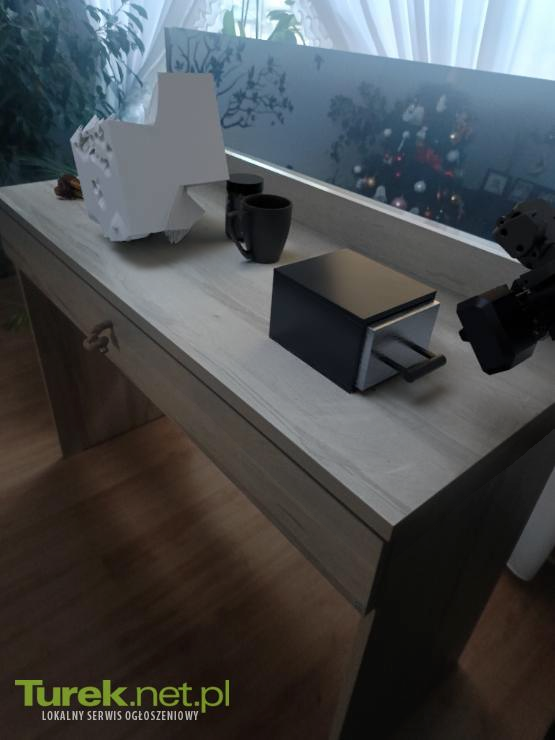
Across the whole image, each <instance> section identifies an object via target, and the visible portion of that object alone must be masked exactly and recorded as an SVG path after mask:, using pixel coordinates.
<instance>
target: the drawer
mask: <svg viewBox="0 0 555 740" xmlns="http://www.w3.org/2000/svg"><path fill="white" fill-rule="evenodd" d="M440 307H441V302H439V301H438V300H436V299H435V300H434V299H431V300H429V301H426V302H424V303H421V304H419V305H417V304H416V305H413V306H411V307H408V308H406V309H403V310H401V311H398V312H396V313H394V314H391V315H389V316H386V317H384V318H381V319H379V320H376V321H374V322H371V323H369V324H367V326H366V331H365V336H364V341H363V346H362V351H361V356H360V361H359V366H358V371H357V376H356V381H355V386H356V387H357V388H359V389H358V390H360V391H365V390H367V389H369V388H370V387H372V386H375V385H377V384H379V383H380V382H383V381H384V380H387V379H388V378H390V377H393V376H395V375H396V374H400V375H402V377H403V379H404V381H405V382H406V383H408V384H412V383H414V382H416V381H417V380H420V379H421V378H423V377H425V376H427V375H429V374H431V373H433V372H434V371H437V370H438V369H440V368H442V367H444V366H445V365H446V364H447V363H448V359H447V357H446V356H445V355H444V354H443V353H437V354H435V353H433V352H431V351H429V350H428V349H429V346H430V342H431V338H432V335H433V331H434V329H435V325H436V321H437V318H438V313H439V310H440ZM425 359H426V360H425ZM416 364H417V365H416ZM414 365H415V366H414Z"/></svg>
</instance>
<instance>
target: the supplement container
mask: <svg viewBox="0 0 555 740" xmlns="http://www.w3.org/2000/svg"><path fill="white" fill-rule="evenodd" d="M224 181H225V182H224V187H225V191H224V193H225V194H224V195H225V199H224V201H225V202H224V206H225V207H224V218H225V217H226V214H227V213H229V212H232V211H241V208H242V199H243V198H244V197H246V196H248V195H254V194H264V189H265V188H264V187H265V185H264V184H265V179H264V177H262V176H260V175H257V174H253V173H246V172H245V173H244V172H238V173H237V172H236V173H229V180H224ZM232 227H233V230H234V233H235V235H236V237H237V239H238V241H239V242H240V243H245V242H244V237H243V231H242V222H241V214H240V215H235V216H234V217H233V219H232ZM224 233H225V236H226V237H227V238H228V239H230V240H231V241H233V239H232V238H231V236H230V234H229V232H228V230H227V227H226V224H225V223H224Z"/></svg>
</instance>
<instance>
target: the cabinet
mask: <svg viewBox="0 0 555 740" xmlns="http://www.w3.org/2000/svg"><path fill="white" fill-rule="evenodd" d="M272 274H273V275H272V284H271V285H272V288H271V302H270V312H269V313H270V315H269V328H268V329H269V330H268V337H269V338H270V339H271V340H272V341H274V342H275V343H277V344H278V345H280V346H281V347H283V349H285V350H286V351H288V352H290V353H291V354H292V355H294V356H295V357H297V358H298V359H299V360H301V361H302V362H303V363H305V364H307V365H308V366H310V367H311V368H312V369H314V371H316V372H318V373H319V374H321V375H322V376H323V377H325V378H327V379H328V380H329V381H331V382H332V383H334V385H337V386H338V387H340V388H341V389H342V390H344V391H345V392H346V393H348V394H352V393H354V392H356V391H357V390H360V389H359V388H357V387H356V386H355V381H356V376H357V371H358V366H359V361H360V356H361V351H362V346H363V341H364V336H365V331H366V326H367V324H369V323H371V322H374V321H376V320H379V319H381V318H384V317H386V316H389V315H391V314H394V313H396V312H398V311H401V310H403V309H406V308H408V307H411V306H413V305H416V304H417V305H419V304H421V303H424V302H426V301H429V300H431V299H434V300H436V296H437V293H438V290H437V289H435V288H433V287H431V286H428V285H426V284H424V283H422V282H420V281H418V280H415V279H413V278H411V277H410V276H407V275H405V274H403V273H400V272H398V271H397V270H394V269H392V268H390V267H388V266H386V265H383V264H381V263H379V262H377V261H375V260H373V259H371V258H369V257H367V256H364V255H363V254H360V253H358V252H356V251H353V250H352V249H349V248H343V249H339V250H335V251H332V252H327V253H324V254H321V255H317V256H313V257H309V258H306V259H302V260H299V261H296V262H295V261H294V262H291V263H288V264H284V265H281V266H277V267H273V271H272Z"/></svg>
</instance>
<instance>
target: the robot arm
mask: <svg viewBox="0 0 555 740" xmlns="http://www.w3.org/2000/svg"><path fill="white" fill-rule="evenodd" d="M495 224H496V228H495V229H494V230H493V231H492V238H493V240H494V241H495V242H496V243H497V244H498V245H499V246H500V247H501V249H503V251H504V252H506V254H507V255H508V256H509V257H510V258H512V259H514V260H517V261H518V262H519V263H520V264H521V265H522V266H523V267H524V268H526V269H528V270H529V271H526V272H524V273H522V274H519V277H517V278H515V279H514V280H513V281H512V284H511V286H510V288H509V287H508V284H507V283H504V284H501V285H500V284H499V285H497V286H493V287H492V288H490V289H488V290H487V289H486V290H485V291H483V292H480V293H478V294H476V295H473V296H471V297H469V298H467V299H464V300H462V301H460V302H458V303H456V308H455V309H456V310H455V313H456V316H457V317H458V319H459V323H460V324H461V327H462V328H461V329H459V330H458V335H459V337H460V340H461V341H462V342H464V343H469V345H470V346H471V349H472V351H473V353H474V355H475V358H476V360H477V362H478V364H479V366H480V369H481V371H482V372H483V373H484V374H486V375H488V376H492V375H496V374H499V373H504V372H507V371H510V370H512V369H513V368H515V367H517V366H518V365H520V364H522V363H523V362H525V361H527V360H528V359H530V358H532V356H533V354H534V352H535V350H536V347H537V344H538V343H539V342H542V341H545V340H547V339H548V338H549V337H550V339H551V341H552V342H554V341H555V207H554V206H553V205H552V204H551V203H550V202H549V201H547V200H546V199H543V198H541V197H535V198H532V199H528V200H525V201H521V202H518V203H517V204H516V205H515V206H514V208H512V209H511V210H510V211H509V212H508V213H507V214H505V215H502V216H500V217H499V216H498V218H497V220H496V223H495Z"/></svg>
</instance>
